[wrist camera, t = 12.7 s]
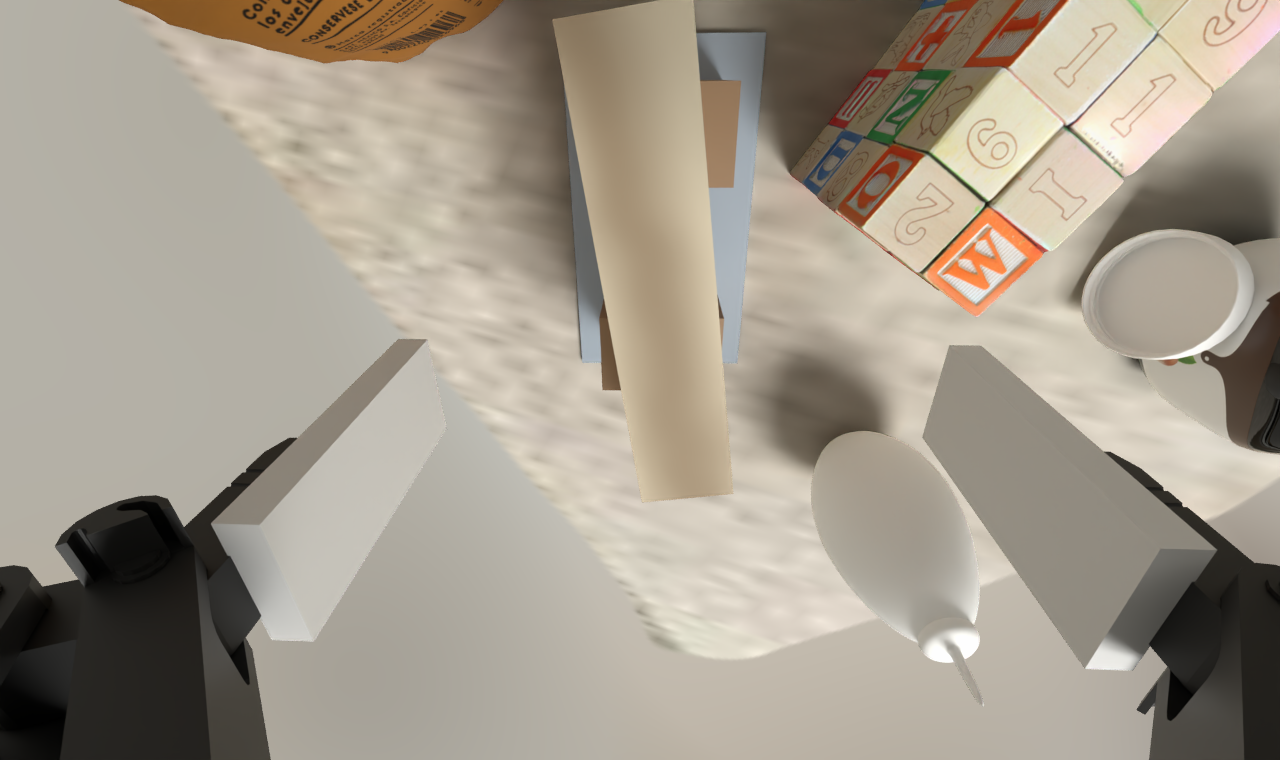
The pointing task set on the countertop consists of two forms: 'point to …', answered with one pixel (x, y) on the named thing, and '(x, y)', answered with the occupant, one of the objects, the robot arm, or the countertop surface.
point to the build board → (730, 167)
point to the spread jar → (1197, 326)
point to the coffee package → (327, 24)
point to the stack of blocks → (1018, 124)
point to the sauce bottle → (900, 543)
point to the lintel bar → (652, 234)
